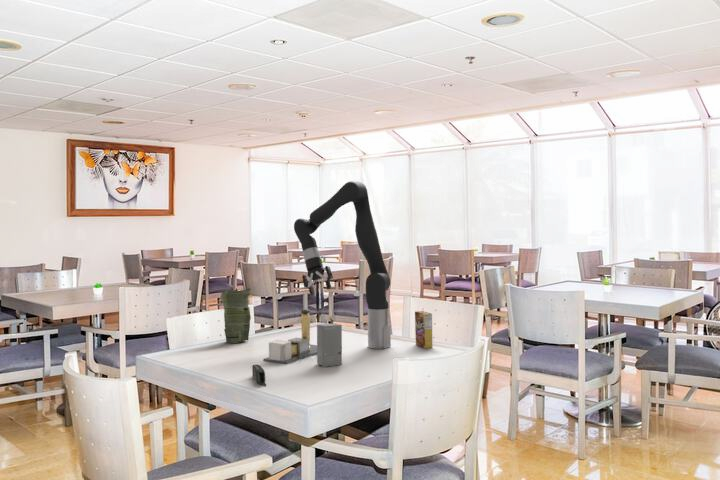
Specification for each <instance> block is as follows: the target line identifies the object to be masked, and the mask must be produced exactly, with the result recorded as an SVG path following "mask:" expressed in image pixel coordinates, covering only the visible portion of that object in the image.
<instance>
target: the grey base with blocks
mask: <svg viewBox="0 0 720 480" xmlns="http://www.w3.org/2000/svg"><path fill="white" fill-rule="evenodd" d="M287 341H290V342H291V343H294V342H295V343H298V354H297V355H294V356H291V359H288V360H285V361H279V360H271V359H269V356H268V357H265V358H262V359H263V361H264V362H269V363H270V362H271V363H278V364H283V365H288V364H291V363H294V362H298V361H300V360H303V359H306V358H309V357H312V356H316V355H317V344H311V343H310V350H309V351H308V339H305V338H302V337H294V338H290V339H288V340H287Z"/></svg>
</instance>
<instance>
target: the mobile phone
mask: <svg viewBox="0 0 720 480" xmlns="http://www.w3.org/2000/svg"><path fill="white" fill-rule="evenodd" d="M251 367H252V368H251V369H252V377H253V378H254V380H255V383H256V384H258V385H263V386H265V387H266V386H267V383H266V373H265V372H266V371H265V370H264V368H263V367H262V366H261V364H253V365H252V366H251Z"/></svg>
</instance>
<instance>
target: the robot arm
mask: <svg viewBox="0 0 720 480" xmlns="http://www.w3.org/2000/svg"><path fill="white" fill-rule="evenodd" d="M349 203H353V206H354V210H355V215H356V217H355V230H354V231H355V236H356V241H357V245H358V247H359V250H360V251H361V253H362V254H363V256H364V258H365V260H366V262H367V264H368V268H369V272H370V274H369V275H368V276H367V278H366V280H365V300H366V304H367V347H368V349H369V348H370V349H381V350H382V349H387V348H389V347H391V345H392V344H391V342H392V341H391V340H392V339H391V335H392V334H391V333H392V332H391V325H390V322H389V319H390V317H389V314H390V313H389V308H390V307H389V301H388V300H387V297H386V295H387V293H386V291H388V290H389V288H390V286H391V277H390V275H389V272H388V270H387V266H386V265H385V262H384V258H383V253H382V249H381V245H380V242H379V238H378V237H379V236H378V233H377V230H376V227H375V222H374V219H373V214H372V211H371V205H370V200H369V193H368V189H367V186H366V185H365V184H364V183H363V182H361V181H354V180H353V181H352V180H351V181H347V182H346V183H345V184H343V185H342V186H341V188H339V189H338V190H337V191H336V193H334V194H333V195H332V196H331V197H330V198H329V199H328V200H327V201H326V202H324V203H323V204H322V205H320V206H319V207H318V208H316V209H314V210H313V211H312V212H311V213H310V214H309V219H304V218H298V219H296V220H295V221H294V224H293V230H294V233H295V236H296V237H297V239H298V242H299V243H300V244H301V245H300V246H301V250H302V253H303V259H304V264H305V267H306V271H307V274H302V276H301V278H302V281H303V282H302V283H303V287H304V288H306V289H308V292H309V295H311V296H315V290H314V284H315V283H316V282H317V281H319V280H322V279H323V280H324V281H325V285H326V286H325V287H326V289H327V290H331V288H332V285H331V280H332V279H333V278H334V275H333V273H332V271H331V267H330V266H328V265H325V266H324V265H323V261H322V258H321V254H320V251H319V249H318V244H317V241H316V237H315V238H314V237H313V236H312V234H313V233H315V232H316V231H317V230H318V228H319V227H320V226H321V225H322V224H324V223H325V222H326V221H329V219H330V218H332V217H333V216H334V215H335V213H336V212H337V210H339V209H340V208H341V207H342V206H344V205H347V204H349ZM325 272H326V274H327V275H325Z"/></svg>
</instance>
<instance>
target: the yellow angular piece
mask: <svg viewBox="0 0 720 480" xmlns="http://www.w3.org/2000/svg"><path fill="white" fill-rule="evenodd" d="M310 314H311V310H310V309H307V308H306V309H300V315H301V318H300V319H301V338H305V339H308V351H309V350H310V344H311V333H310V332H311V323H310V322H311V318H310ZM297 354H298V343H295V342H294V343H291V356H294V355H297Z"/></svg>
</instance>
